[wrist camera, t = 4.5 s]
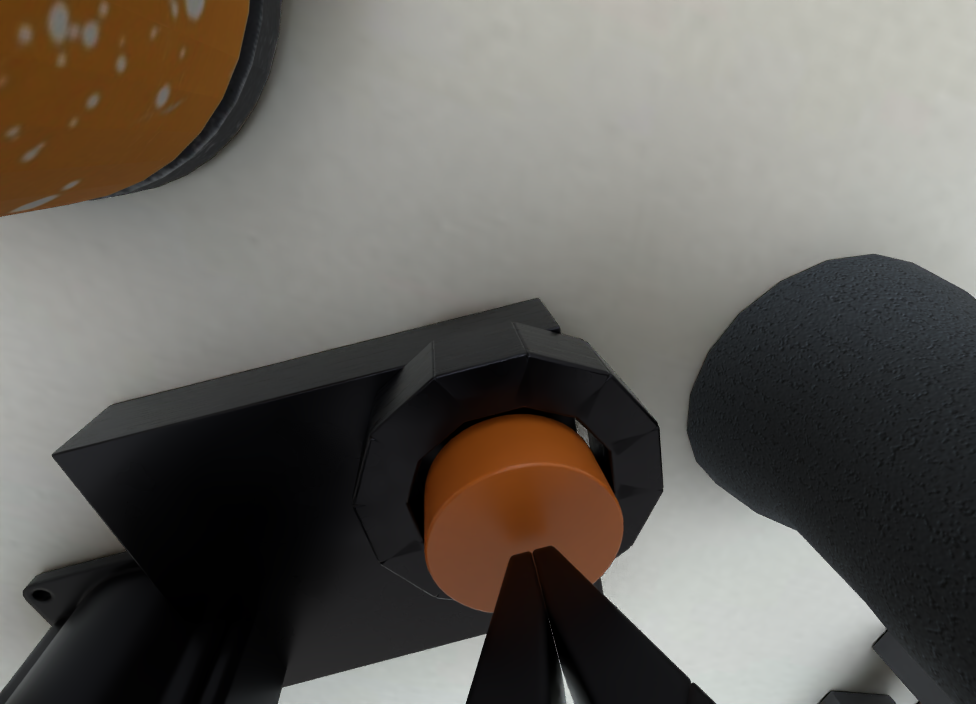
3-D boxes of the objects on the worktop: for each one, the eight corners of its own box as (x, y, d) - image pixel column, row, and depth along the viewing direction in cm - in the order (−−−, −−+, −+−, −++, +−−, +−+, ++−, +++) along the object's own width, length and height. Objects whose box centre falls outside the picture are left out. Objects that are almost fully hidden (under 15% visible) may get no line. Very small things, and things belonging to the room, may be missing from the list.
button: (449, 566, 11) (453, 634, 10) (402, 439, 10) (397, 496, 8) (604, 526, 12) (632, 587, 10) (584, 392, 10) (614, 440, 8)
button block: (265, 632, 17) (221, 767, 13) (99, 391, 12) (-36, 495, 9) (622, 539, 17) (675, 646, 13) (588, 268, 12) (653, 320, 9)
